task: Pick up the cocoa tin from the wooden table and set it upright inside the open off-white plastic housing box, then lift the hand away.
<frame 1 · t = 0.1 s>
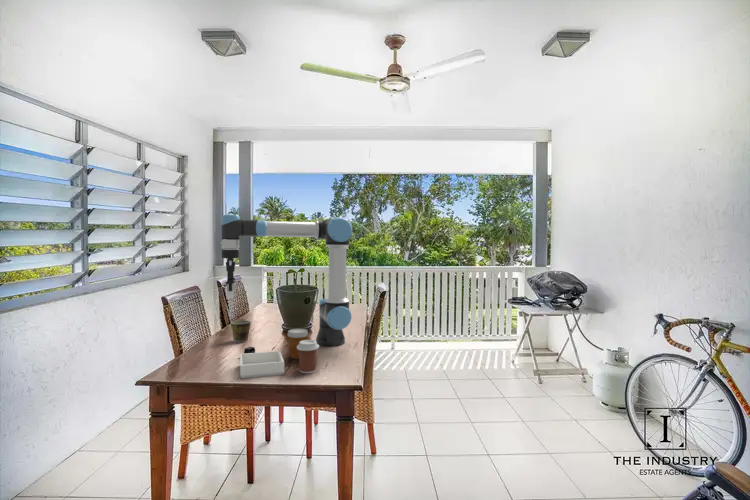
hand: (230, 296, 180), 28 cm above the table, tool pointing down, fingers open, 13 cm apart
coffee cup: (307, 371, 164), on the table
ceramic cup: (239, 342, 210), on the table
housing: (261, 369, 165), on the table
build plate: (249, 358, 184), on the table
disposable coffee cup: (297, 357, 184), on the table
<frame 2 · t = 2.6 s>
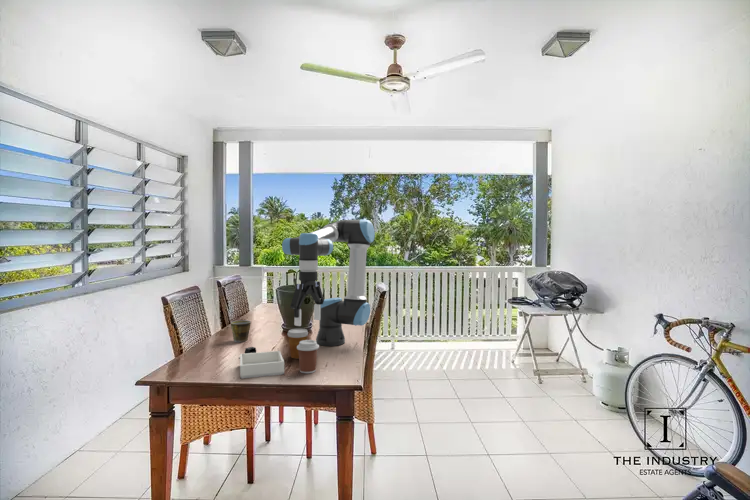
hand: (307, 322, 164), 20 cm above the table, tool pointing down, fingers open, 13 cm apart
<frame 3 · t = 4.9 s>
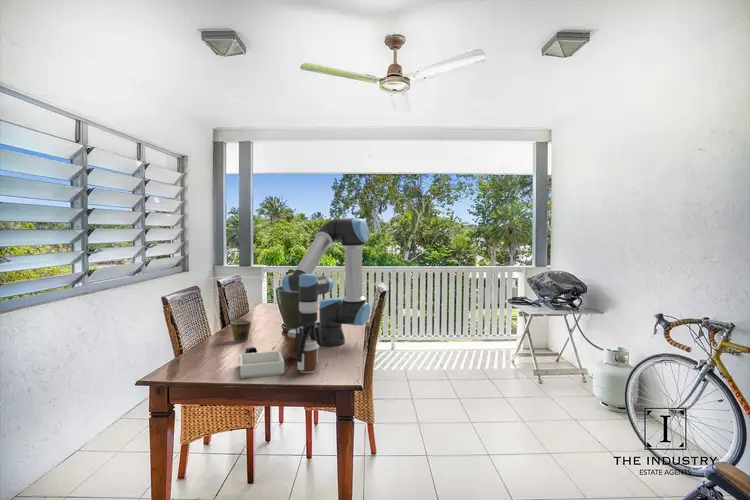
hand: (307, 365, 164), 2 cm above the table, tool pointing down, fingers closed on coffee cup, 9 cm apart
coffee cup: (307, 371, 164), on the table, touching gripper
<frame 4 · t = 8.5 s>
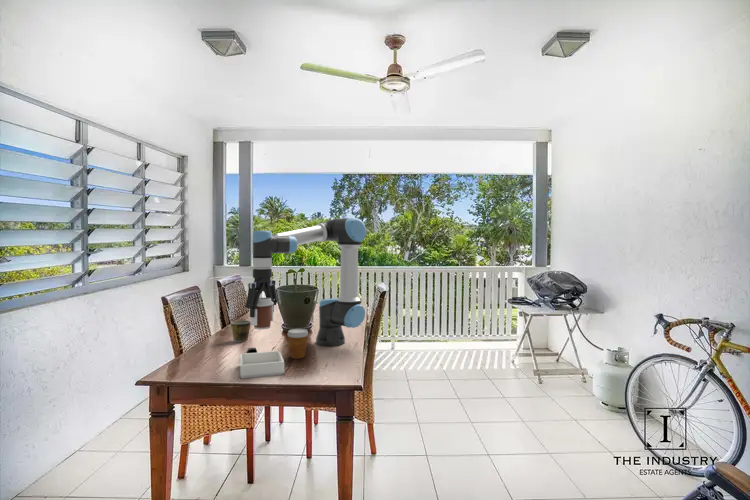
hand: (262, 322, 164), 20 cm above the table, tool pointing down, fingers closed on coffee cup, 9 cm apart
coffee cup: (262, 328, 165), point 17 cm above the table, touching gripper
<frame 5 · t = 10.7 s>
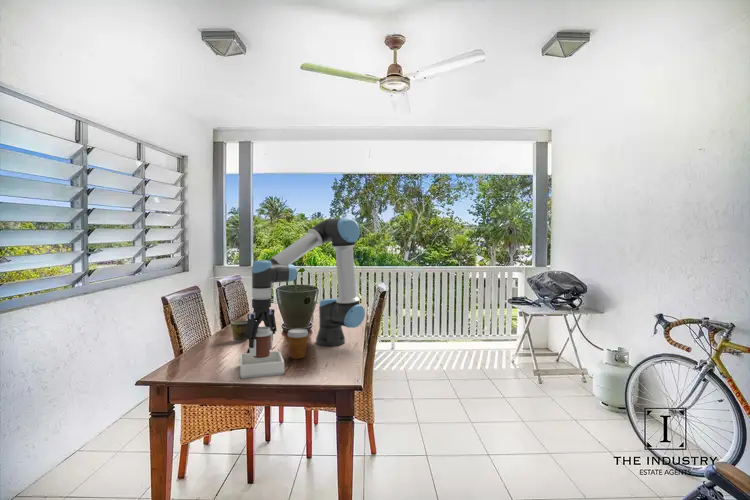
hand: (261, 352, 165), 7 cm above the table, tool pointing down, fingers closed on coffee cup, 9 cm apart
coffee cup: (261, 357, 165), point 5 cm above the table, touching gripper
when the fingers open (4 cm above the table, at t = 12.3 s): coffee cup drops 1 cm, resting on housing.
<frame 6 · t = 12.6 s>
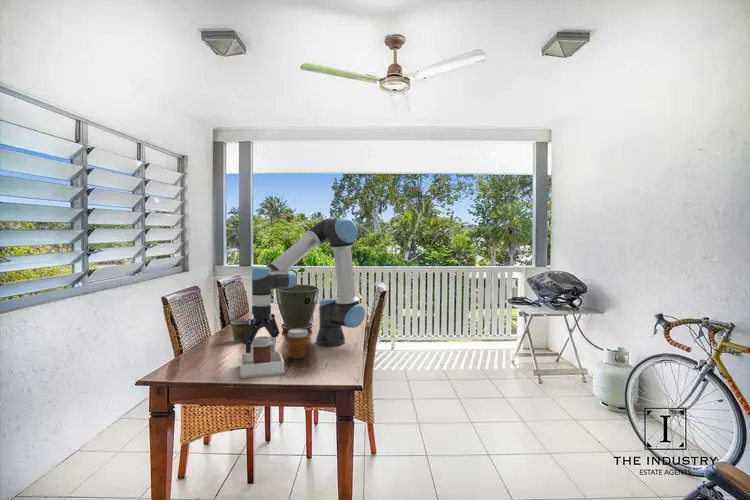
hand: (261, 356, 165), 6 cm above the table, tool pointing down, fingers open, 13 cm apart
coffee cup: (262, 367, 165), point 1 cm above the table, touching housing
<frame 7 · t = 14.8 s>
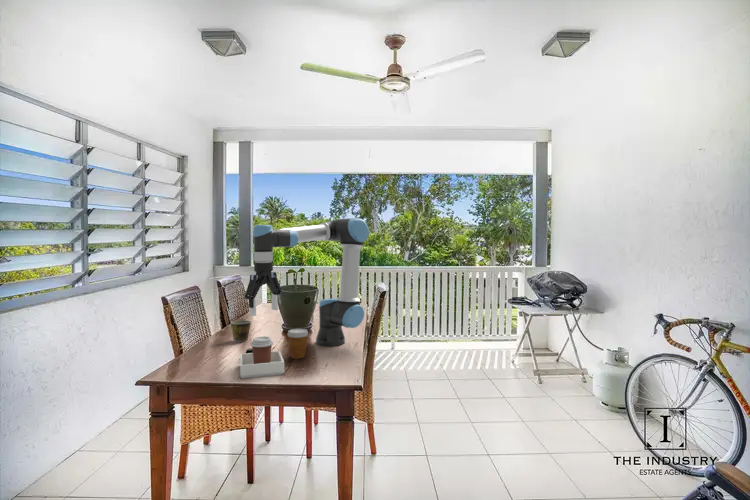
hand: (264, 312, 167), 23 cm above the table, tool pointing down, fingers open, 13 cm apart
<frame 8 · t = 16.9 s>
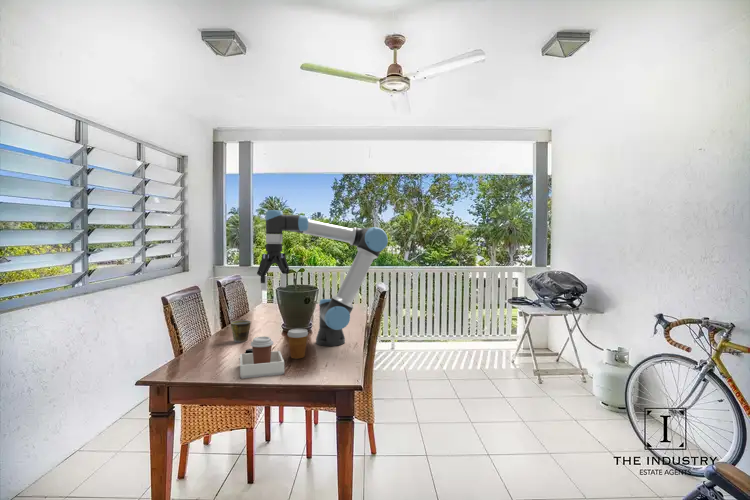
hand: (274, 288, 187), 31 cm above the table, tool pointing down, fingers open, 13 cm apart
at the end: coffee cup 0.3 cm off-centre on the housing, point 0.8 cm above the housing's base; coffee cup tilted 0°; the gripper is holding nothing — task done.
